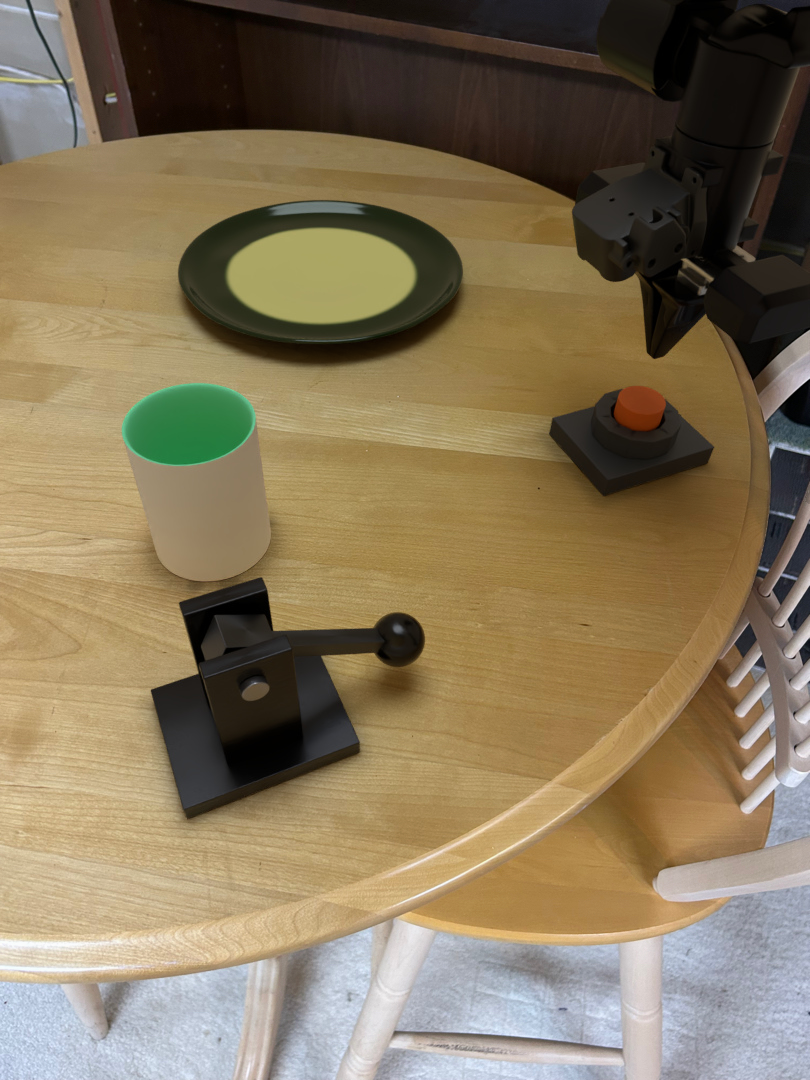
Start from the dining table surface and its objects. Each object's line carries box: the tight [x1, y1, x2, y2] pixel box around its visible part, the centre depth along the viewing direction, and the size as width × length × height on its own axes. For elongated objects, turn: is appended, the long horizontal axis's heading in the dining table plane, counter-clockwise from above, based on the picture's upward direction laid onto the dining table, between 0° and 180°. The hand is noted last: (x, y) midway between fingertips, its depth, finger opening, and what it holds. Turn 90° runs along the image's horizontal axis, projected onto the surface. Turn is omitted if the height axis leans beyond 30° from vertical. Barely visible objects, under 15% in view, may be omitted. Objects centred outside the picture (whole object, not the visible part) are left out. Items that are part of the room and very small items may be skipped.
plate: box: [177, 199, 464, 345], centre depth 80 cm, size 28×28×2 cm
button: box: [614, 385, 666, 432], centre depth 62 cm, size 4×4×2 cm
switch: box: [150, 576, 361, 820], centre depth 43 cm, size 10×8×10 cm
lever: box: [201, 611, 426, 668], centre depth 44 cm, size 13×3×3 cm, turn 114°
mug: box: [121, 382, 272, 582], centre depth 54 cm, size 12×8×10 cm
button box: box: [549, 388, 715, 497], centre depth 64 cm, size 8×10×4 cm
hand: (655, 355), depth 58 cm, fingers closed
